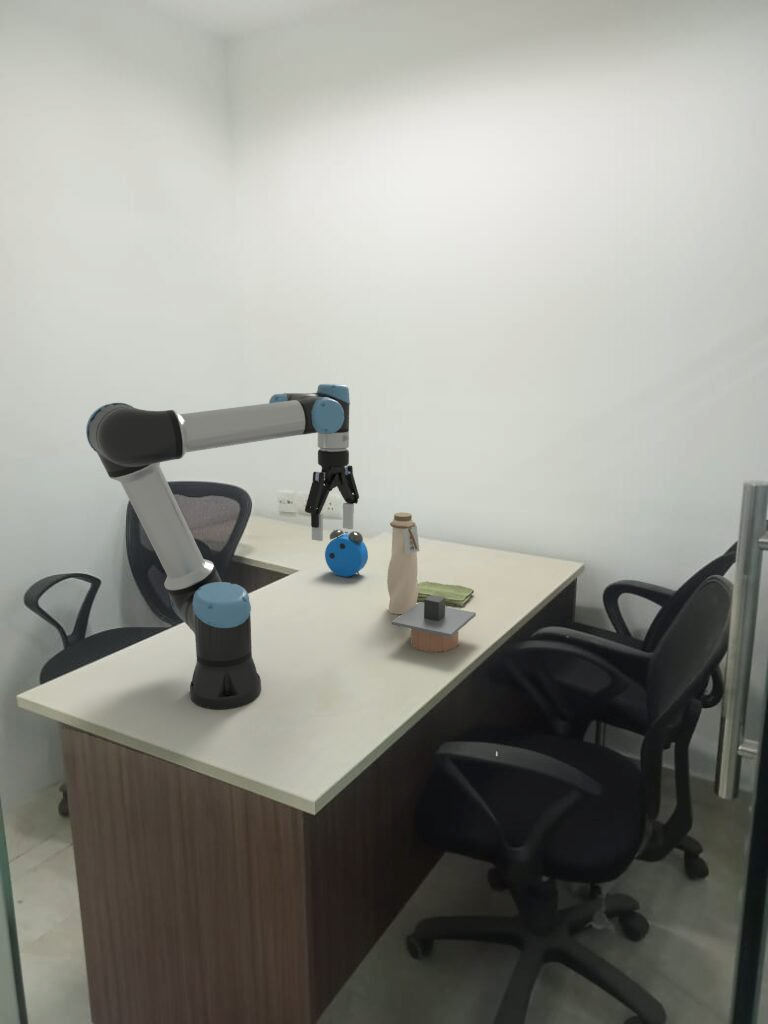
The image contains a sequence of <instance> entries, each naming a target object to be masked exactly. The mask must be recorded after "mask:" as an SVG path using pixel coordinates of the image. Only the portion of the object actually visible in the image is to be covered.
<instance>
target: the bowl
mask: <svg viewBox="0 0 768 1024" xmlns="http://www.w3.org/2000/svg"><path fill="white" fill-rule="evenodd" d="M410 644H411V646H412V647H414V646H415V647H414V648H416V649H418V650H419V651H425V652H428V651H429V652H428V653H443V652H442V651H444V652H447V651H446V650H448V651H451V650H450V649H452V650H454V649H455V648H456V647H457V646H458V645H459V631H458V632H456V633H455V634H454V635H453V636H452V637H447V636H442V635H438V634H433V633H428V632H424V631H419V630H414V629H410ZM453 648H454V649H453ZM433 651H434V652H433ZM438 651H439V652H438Z"/></svg>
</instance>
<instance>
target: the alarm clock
mask: <svg viewBox="0 0 768 1024" xmlns="http://www.w3.org/2000/svg"><path fill="white" fill-rule="evenodd" d="M344 533H345V534H344ZM329 540H330V542H329V543H328V544H327V545H326V548H325V551H324V559H325V564H326V565H327V566H328V569H330V570H331V572H333V573H334V574H335V575H337V576H339V577H343V578H346V577H347V578H348V577H352V576H354V575H355V574H357V575H360V571H361V570H362V569H364V568H365V566H366V565H367V562H368V558H369V552H368V548H367V546H366V543H365V542H364V537H363V535H362V534H361V533H360V532H358V531H355V530H354V531H353V530H352V531H351V532H348V531H343V530H342V529H333V531H332V532H330V534H329Z"/></svg>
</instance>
